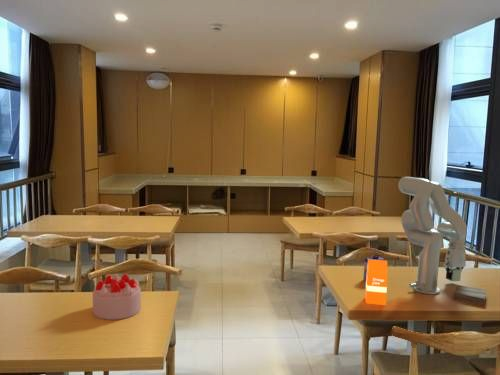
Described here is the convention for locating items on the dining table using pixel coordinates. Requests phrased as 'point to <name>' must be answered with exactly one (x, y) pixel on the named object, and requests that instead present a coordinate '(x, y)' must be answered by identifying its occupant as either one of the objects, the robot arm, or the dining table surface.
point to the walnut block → (470, 295)
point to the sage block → (455, 274)
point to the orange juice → (376, 282)
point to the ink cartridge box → (367, 264)
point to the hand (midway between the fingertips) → (452, 278)
